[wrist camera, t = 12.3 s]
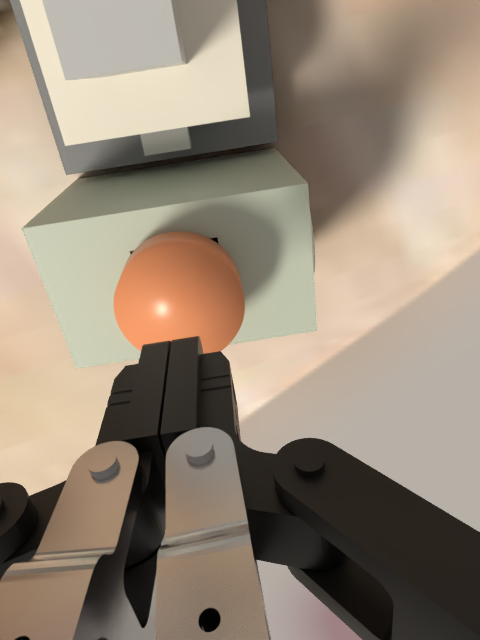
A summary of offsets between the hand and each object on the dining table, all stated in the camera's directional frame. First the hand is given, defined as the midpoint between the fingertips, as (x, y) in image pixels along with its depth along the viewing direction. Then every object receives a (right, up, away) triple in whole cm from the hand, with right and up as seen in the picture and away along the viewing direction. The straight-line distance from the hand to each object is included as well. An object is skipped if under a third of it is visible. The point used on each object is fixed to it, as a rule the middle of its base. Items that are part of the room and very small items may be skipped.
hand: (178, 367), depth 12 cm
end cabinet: (-1, +7, +12) cm, 14 cm away
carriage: (-2, +13, +6) cm, 14 cm away
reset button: (-1, +5, +9) cm, 10 cm away
